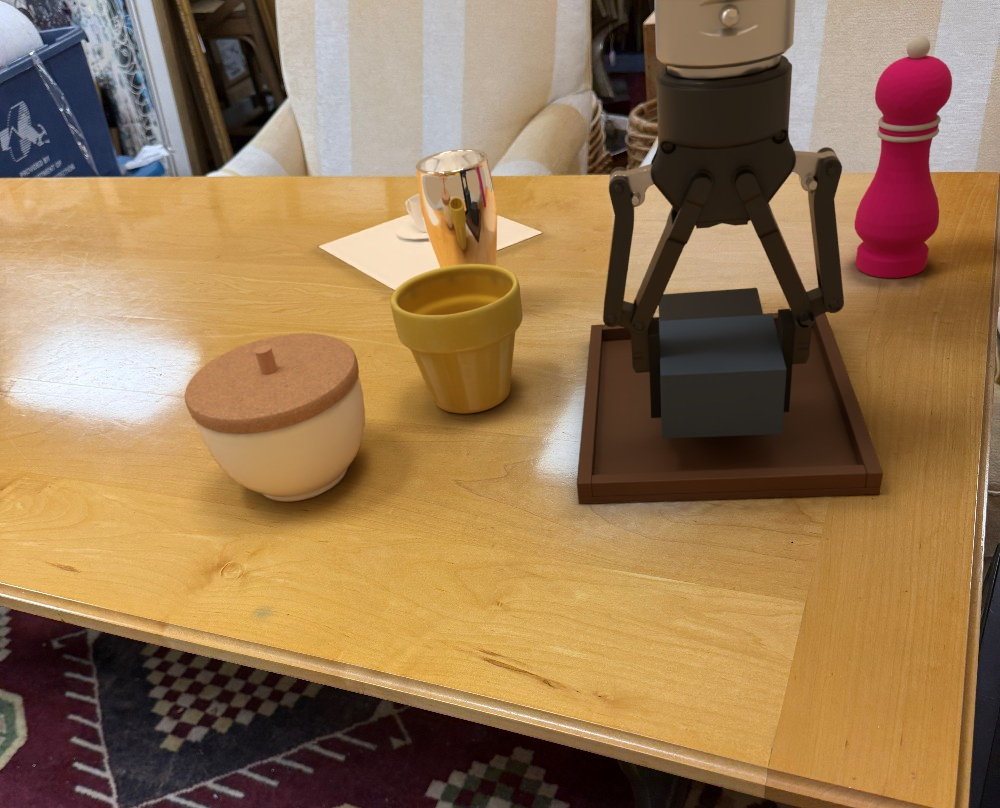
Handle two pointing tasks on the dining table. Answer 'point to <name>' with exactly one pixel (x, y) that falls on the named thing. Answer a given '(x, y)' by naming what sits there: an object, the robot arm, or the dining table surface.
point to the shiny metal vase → (459, 207)
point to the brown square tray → (723, 459)
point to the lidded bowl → (281, 413)
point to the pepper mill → (903, 166)
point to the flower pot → (461, 332)
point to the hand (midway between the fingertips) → (717, 404)
